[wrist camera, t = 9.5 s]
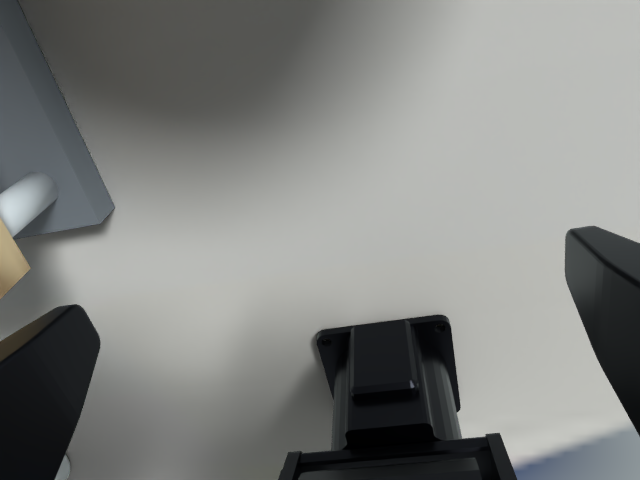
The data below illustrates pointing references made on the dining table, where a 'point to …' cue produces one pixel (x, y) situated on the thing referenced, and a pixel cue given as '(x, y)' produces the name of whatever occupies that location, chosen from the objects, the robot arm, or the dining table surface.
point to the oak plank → (10, 261)
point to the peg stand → (40, 143)
